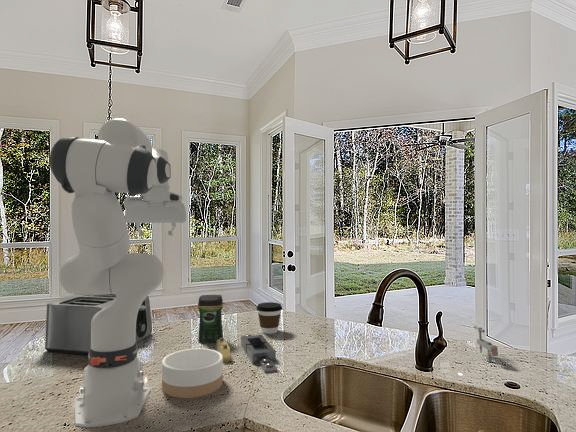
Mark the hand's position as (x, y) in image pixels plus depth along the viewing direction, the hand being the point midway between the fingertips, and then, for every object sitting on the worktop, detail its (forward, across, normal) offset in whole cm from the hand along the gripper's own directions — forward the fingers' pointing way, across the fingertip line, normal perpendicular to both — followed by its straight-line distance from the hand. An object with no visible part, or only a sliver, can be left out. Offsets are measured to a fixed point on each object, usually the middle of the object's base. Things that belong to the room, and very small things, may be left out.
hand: (156, 236), depth 135 cm
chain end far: (+42, +34, -3) cm, 55 cm away
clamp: (+43, +109, -38) cm, 123 cm away
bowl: (+43, +10, -27) cm, 52 cm away
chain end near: (+42, +34, -13) cm, 56 cm away
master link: (+43, +22, -7) cm, 49 cm away
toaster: (+43, -20, +22) cm, 52 cm away
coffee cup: (+43, +45, +14) cm, 64 cm away
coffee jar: (+43, +20, +11) cm, 48 cm away
